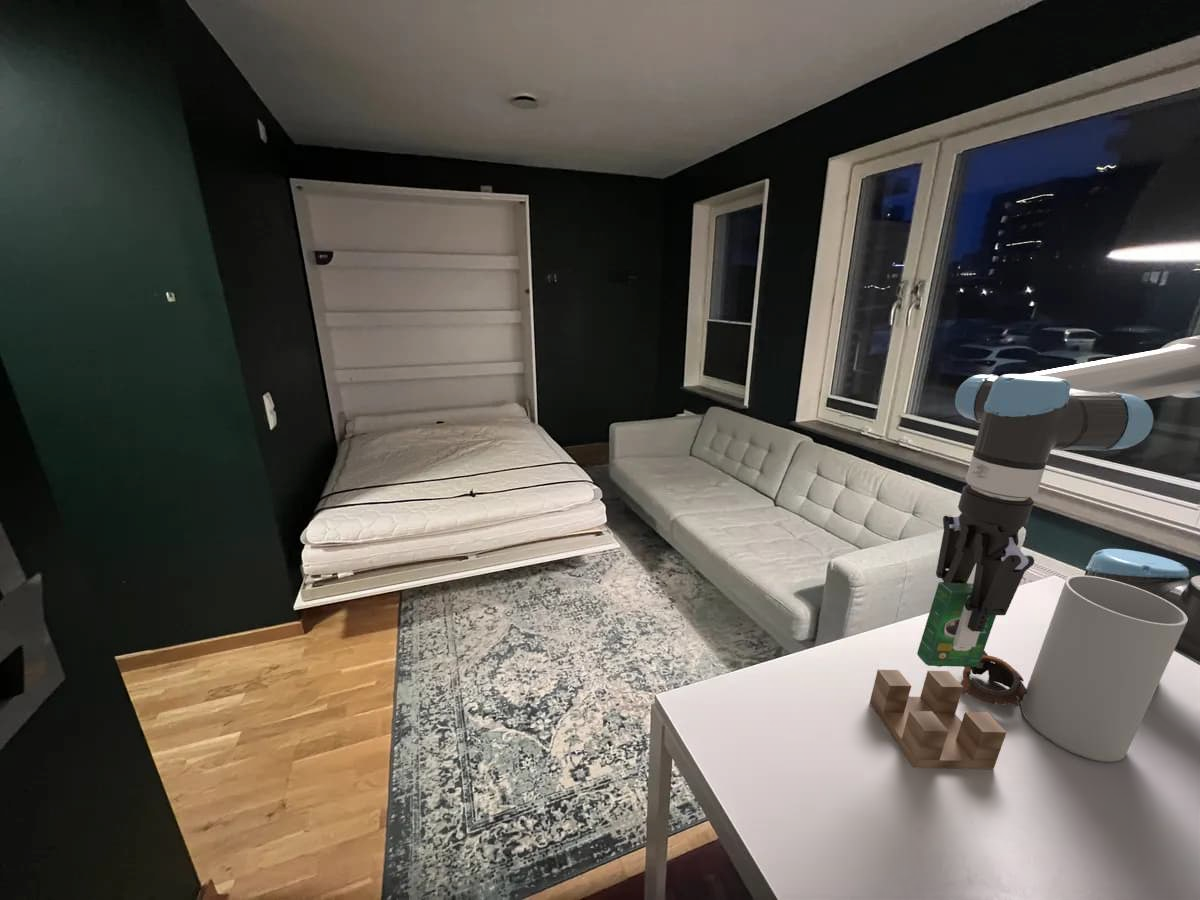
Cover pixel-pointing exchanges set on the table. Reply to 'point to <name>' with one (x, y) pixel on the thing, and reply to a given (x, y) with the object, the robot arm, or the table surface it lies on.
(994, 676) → the brown ring-shaped frame
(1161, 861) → the table surface
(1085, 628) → the cylinder vase
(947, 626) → the coffee box
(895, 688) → the walnut cross socket
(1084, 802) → the table surface
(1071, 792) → the table surface
